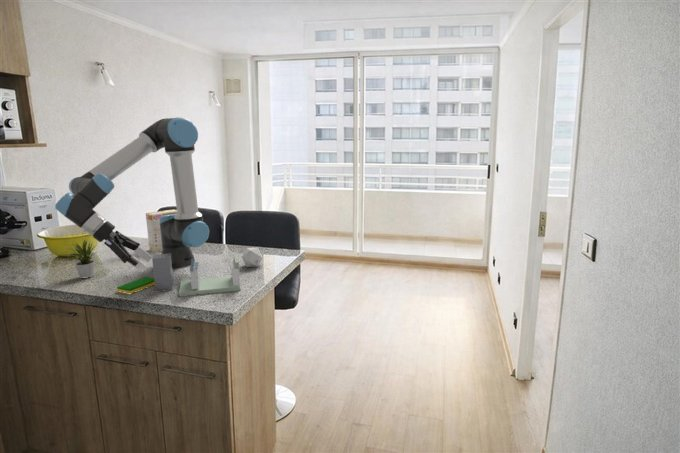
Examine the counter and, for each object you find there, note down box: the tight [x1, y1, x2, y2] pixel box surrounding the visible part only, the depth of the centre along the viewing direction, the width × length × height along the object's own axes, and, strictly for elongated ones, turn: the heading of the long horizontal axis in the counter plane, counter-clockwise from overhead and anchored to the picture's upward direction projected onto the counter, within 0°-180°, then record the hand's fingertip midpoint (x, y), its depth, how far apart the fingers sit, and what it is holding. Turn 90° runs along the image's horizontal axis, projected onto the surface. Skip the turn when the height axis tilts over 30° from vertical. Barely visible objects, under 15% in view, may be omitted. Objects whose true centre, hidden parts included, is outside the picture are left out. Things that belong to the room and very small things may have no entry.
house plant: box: [65, 238, 98, 278], centre depth 185 cm, size 14×14×16 cm
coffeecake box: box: [145, 209, 177, 253], centre depth 229 cm, size 15×7×20 cm, turn 133°
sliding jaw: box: [189, 258, 201, 290], centre depth 169 cm, size 13×2×8 cm, turn 15°
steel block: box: [151, 253, 175, 292], centre depth 170 cm, size 6×6×13 cm
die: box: [241, 247, 263, 268], centre depth 198 cm, size 8×9×10 cm
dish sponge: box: [116, 276, 155, 293], centre depth 172 cm, size 7×14×2 cm, turn 155°
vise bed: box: [178, 253, 241, 297], centre depth 171 cm, size 14×22×11 cm, turn 105°
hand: (147, 264), depth 167 cm, fingers open, 13 cm apart
